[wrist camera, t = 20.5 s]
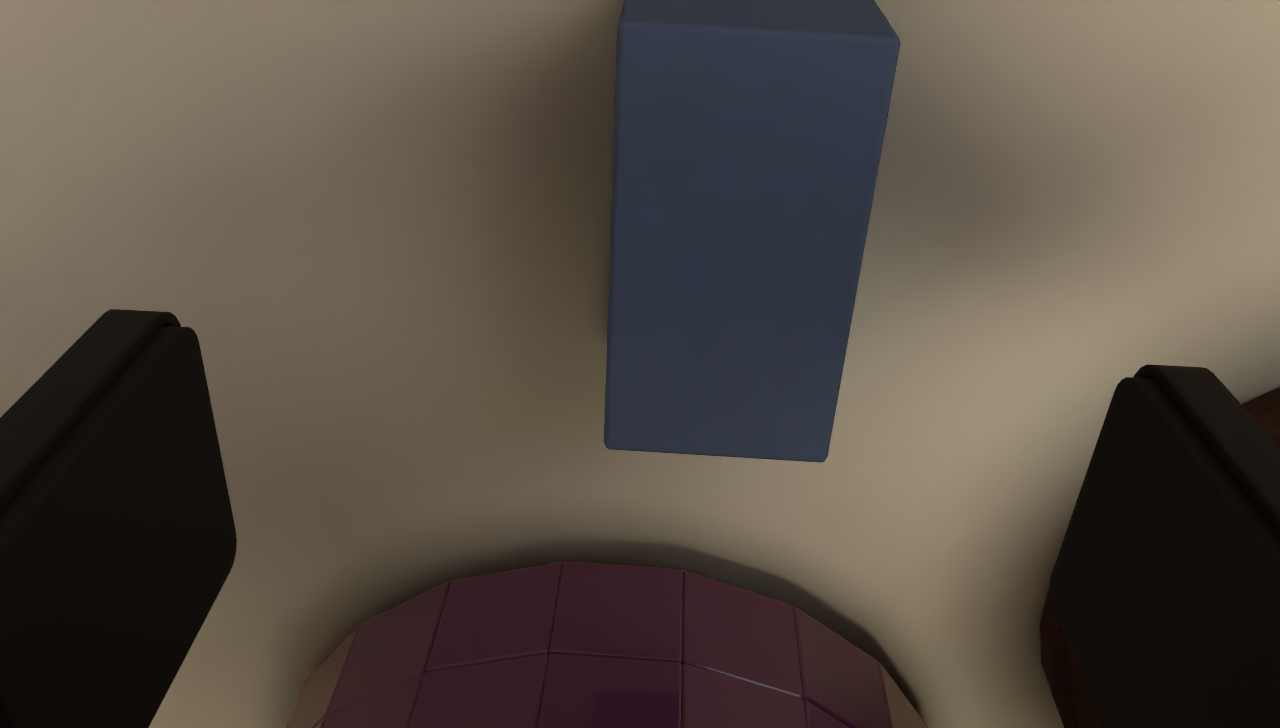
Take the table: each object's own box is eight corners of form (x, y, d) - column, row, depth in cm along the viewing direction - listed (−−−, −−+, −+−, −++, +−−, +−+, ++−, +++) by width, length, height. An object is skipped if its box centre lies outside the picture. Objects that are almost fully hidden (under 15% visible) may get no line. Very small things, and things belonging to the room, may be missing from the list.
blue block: (808, 362, 17) (827, 465, 15) (615, 350, 17) (603, 451, 15) (867, -17, 14) (903, 37, 11) (629, -29, 14) (616, 20, 11)
